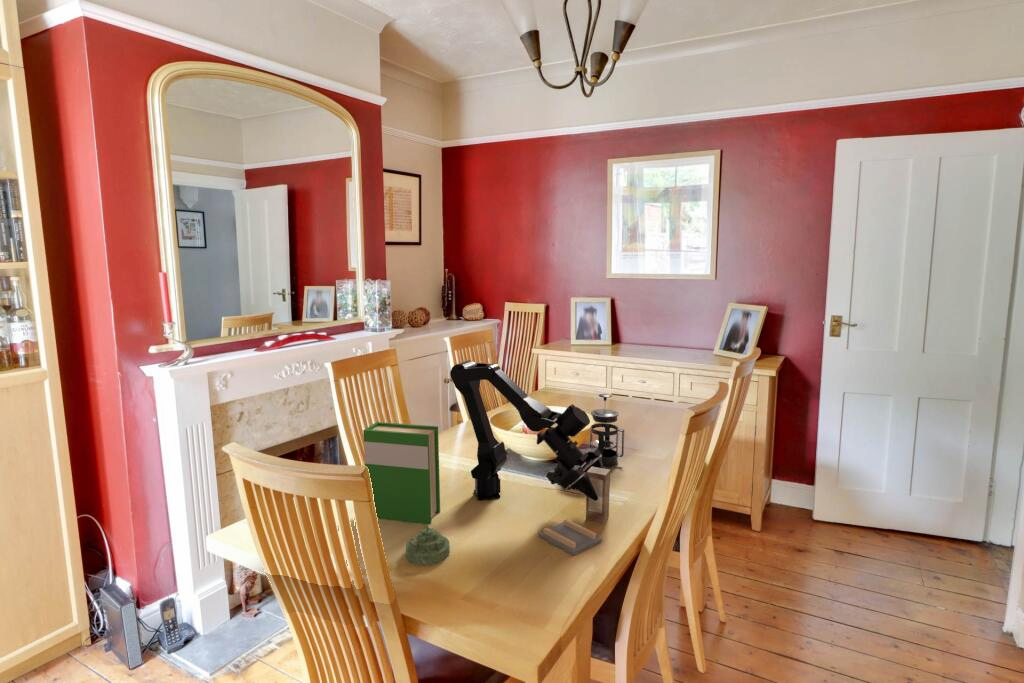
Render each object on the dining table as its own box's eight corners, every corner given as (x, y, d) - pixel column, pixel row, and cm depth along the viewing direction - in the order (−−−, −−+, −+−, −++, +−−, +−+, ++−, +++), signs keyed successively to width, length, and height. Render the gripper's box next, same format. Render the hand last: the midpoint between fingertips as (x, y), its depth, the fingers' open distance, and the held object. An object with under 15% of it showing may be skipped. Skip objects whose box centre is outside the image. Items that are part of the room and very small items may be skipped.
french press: (583, 465, 190) (585, 396, 186) (591, 455, 199) (592, 389, 195) (619, 470, 186) (621, 400, 182) (625, 460, 194) (627, 392, 191)
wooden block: (585, 518, 153) (586, 471, 151) (590, 512, 157) (591, 466, 155) (604, 522, 151) (605, 475, 149) (608, 516, 155) (610, 469, 153)
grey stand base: (537, 535, 144) (537, 528, 144) (566, 523, 151) (566, 516, 150) (573, 555, 135) (573, 547, 135) (601, 541, 142) (602, 533, 141)
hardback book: (440, 512, 158) (438, 426, 154) (430, 524, 150) (427, 435, 146) (380, 505, 162) (376, 421, 158) (367, 517, 155) (363, 430, 151)
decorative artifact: (453, 544, 141) (413, 542, 142) (452, 517, 140) (412, 515, 141) (444, 567, 131) (401, 565, 132) (443, 538, 130) (399, 536, 131)
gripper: (555, 452, 167) (592, 496, 164) (529, 475, 150) (569, 524, 147) (582, 429, 162) (620, 474, 159) (558, 450, 146) (599, 500, 143)
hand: (602, 493), depth 152 cm, fingers open, 9 cm apart
